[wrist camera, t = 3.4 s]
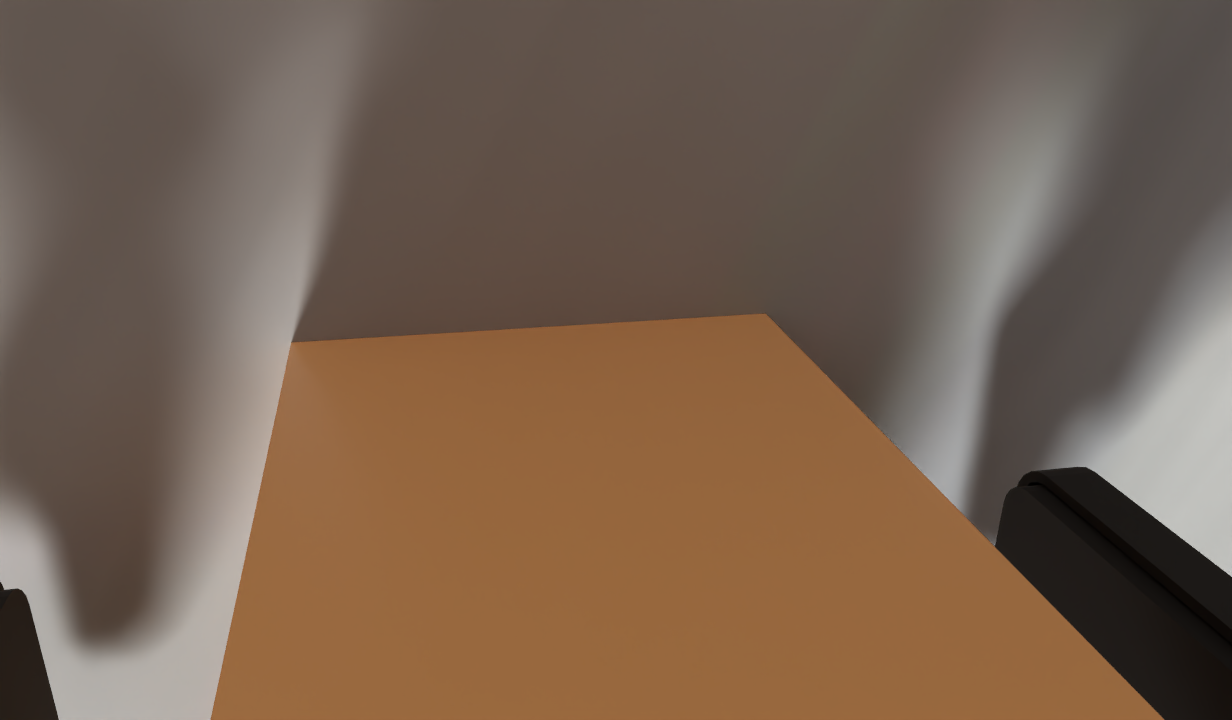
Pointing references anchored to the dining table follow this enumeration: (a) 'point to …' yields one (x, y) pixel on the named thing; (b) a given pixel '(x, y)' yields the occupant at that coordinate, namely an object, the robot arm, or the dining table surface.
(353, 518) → the plug
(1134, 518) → the robot arm
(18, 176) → the dining table surface
